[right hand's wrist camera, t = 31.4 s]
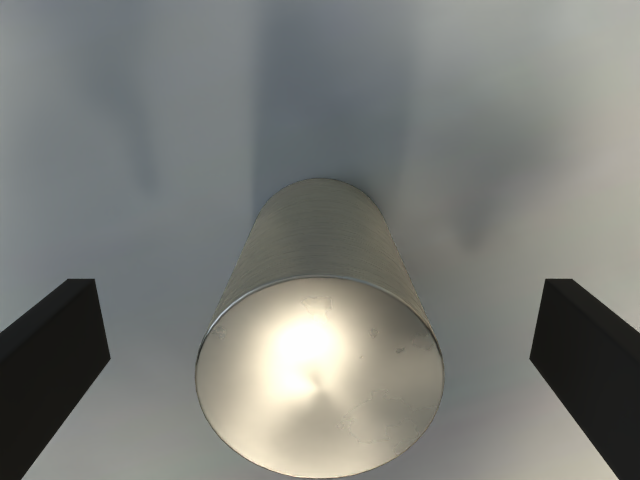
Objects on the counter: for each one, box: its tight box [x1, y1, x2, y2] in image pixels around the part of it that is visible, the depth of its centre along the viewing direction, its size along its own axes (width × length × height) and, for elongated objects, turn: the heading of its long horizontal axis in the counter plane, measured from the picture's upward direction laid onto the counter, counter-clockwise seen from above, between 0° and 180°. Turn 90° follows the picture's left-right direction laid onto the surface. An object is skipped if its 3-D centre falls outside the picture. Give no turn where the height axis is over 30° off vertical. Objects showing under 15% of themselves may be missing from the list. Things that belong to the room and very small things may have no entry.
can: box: [195, 178, 444, 479], centre depth 14 cm, size 6×6×9 cm
